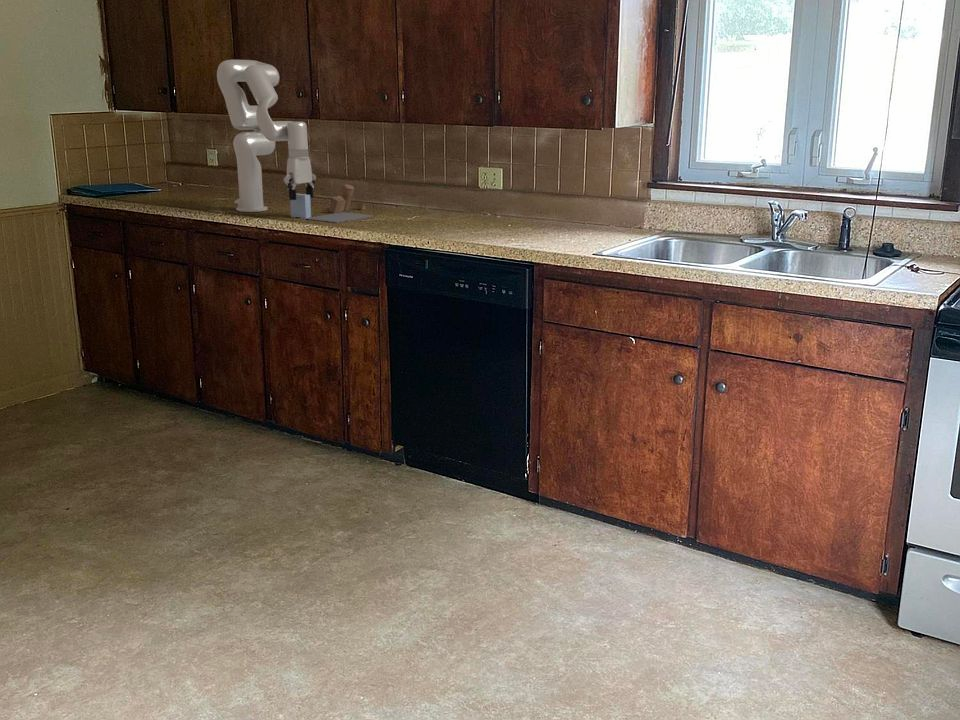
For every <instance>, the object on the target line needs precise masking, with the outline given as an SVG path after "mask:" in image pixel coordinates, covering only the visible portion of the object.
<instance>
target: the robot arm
mask: <svg viewBox="0 0 960 720" xmlns="http://www.w3.org/2000/svg"><path fill="white" fill-rule="evenodd" d="M216 78H217V79H216V80H217V84H218V86H219V88H220V91H221V93H222V95H223V98H224V101H225V106H226V109H227V112H228V116H229V120H230V123H231V125H232V127H233V128H234V129H236V130H240V131H241V130H242V132H240V133H238V134H236V135H235V137H234V139H233V143H232V145H233V148H234V152H235V157H236V163H237V165H236V167H237V179H238V195H239V198H237V199H236V200H234V204H235V205H237V207H236V211H237V212H243V213H245V212H246V213H256V212H264V211H268V206H265V205H264V197H263V196H264V195H263V193H264V192H263V191H264V190H263V177H262V176H263V175H262V165H261V163H260V161H259V158H258V157H257V156H268V155H271V154H272V153H273V152H274V151H275V149H276V142H287V148H288V158H287V161H286V162H287V163H286V176H285V177H284V178H283V183H284V184H285V187H286V188H287V190H288V199H289V201H290V200H296V194H297V190H296V187H297V185H302V184H303V185H304V184H305V186H306V187H305V194H306V195H310V199H312V198H314V187H315V183H316V178H317V175H316V174H315V173H313V170H312V164H311V160H310V159H311V158H310V157H309V154H310V152H309V145H308V144H309V143H308V142H309V141H308V127H307V123H306V122H304V121H291V120H284V121H283V120H277V121H276V120H275V121H273V119H272V118H271V116H270V114H269V111H268V109H270V108H271V107H273V106H274V105H275V104H276V103H277V101H278V99H279V96H278V94H277V92H276V90H275V88H274V87H276V86H277V85H278V84H279V82H280V73H279V71H278V69H277V68H276V67H275V66H274V65H272V64H269V63H266V62H261V61H258V60H252V59H227V60H223V61H222V62H220V63H219V65H218V67H217V71H216ZM238 82H241V83H243V82H245V83H246V84H247V86H248V89H249V91H250V92H251V94H252V95H253V99H254V100H255V101H256V104H257V105H250V104H249V102H248V99H247V96H246V93H245V90H244V89H243V88H242V87H241V86H240V85H239V84H238ZM244 130H246V131H244ZM249 130H253V131H249ZM243 131H244V132H243Z"/></svg>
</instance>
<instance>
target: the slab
mask: <svg viewBox="0 0 960 720" xmlns="http://www.w3.org/2000/svg"><path fill="white" fill-rule="evenodd" d="M289 205H290V208H289V210H290V217H291V218H296V217H300V218H299V219H305V218H310V217H312V209H311V208H312V207H311V205H312V204H311V198H310V195H306V193H305V194H304V193H296V200H290V199H289Z"/></svg>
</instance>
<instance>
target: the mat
mask: <svg viewBox="0 0 960 720" xmlns="http://www.w3.org/2000/svg"><path fill="white" fill-rule="evenodd" d="M373 217H374V215H371V214H363V213H352V212H345V211H342V212H339V213H330V214H323V215H318V216H313V217H312V216H311V218H304V220H305V219H308V220H307V221H313V220H318V221H317V222H322V221H328V222H327V223H330V222H334V223H333V224H340V223H339V222H341V223H346V222H351V220H352V221H356V220H361V219H367V218H373ZM345 221H346V222H345Z"/></svg>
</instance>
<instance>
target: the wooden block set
mask: <svg viewBox="0 0 960 720" xmlns="http://www.w3.org/2000/svg"><path fill="white" fill-rule="evenodd" d="M354 190H355V188H354V186H353V185H352V184H347V183H345V184H344V185H343V190H342V193H341V196H340V195H336V196H333V197H332V198H331V201H330V205H329V208H328V211H329V212H330V213H331V214H334V213H340V212H344V211H349V209H350V206H351V202H352V199H353V195H354ZM356 208H357V209H358V210H360V211H365V210H366V211H367V207H366V204H365V203H364V202H362V201H361V200H358V202H357V205H356Z"/></svg>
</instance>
